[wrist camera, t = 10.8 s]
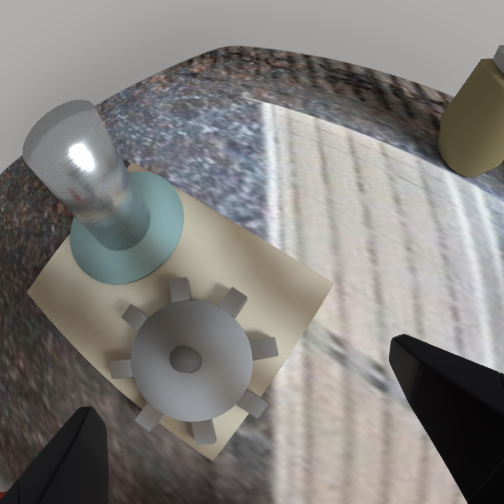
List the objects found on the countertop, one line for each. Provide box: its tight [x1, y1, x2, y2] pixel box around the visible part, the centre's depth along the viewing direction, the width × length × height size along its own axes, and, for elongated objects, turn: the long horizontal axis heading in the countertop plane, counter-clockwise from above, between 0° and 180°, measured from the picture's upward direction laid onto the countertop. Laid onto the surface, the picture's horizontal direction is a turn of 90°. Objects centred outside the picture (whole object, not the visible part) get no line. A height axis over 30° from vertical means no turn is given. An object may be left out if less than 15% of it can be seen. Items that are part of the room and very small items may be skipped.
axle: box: [23, 100, 151, 251], centre depth 19 cm, size 5×5×11 cm
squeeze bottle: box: [438, 45, 504, 177], centre depth 20 cm, size 8×8×18 cm
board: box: [27, 162, 334, 461], centre depth 21 cm, size 16×22×4 cm
